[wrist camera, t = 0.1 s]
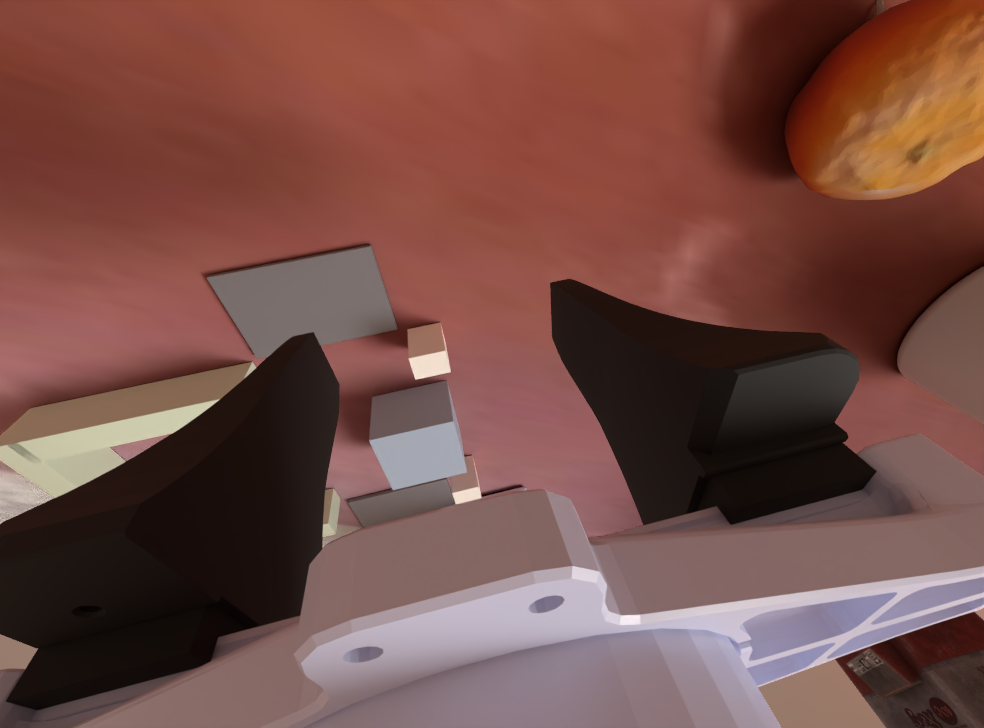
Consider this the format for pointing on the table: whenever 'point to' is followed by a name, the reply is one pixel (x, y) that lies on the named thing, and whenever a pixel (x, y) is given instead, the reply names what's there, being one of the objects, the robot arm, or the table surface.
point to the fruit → (893, 103)
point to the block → (416, 435)
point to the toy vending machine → (924, 675)
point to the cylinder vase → (950, 347)
